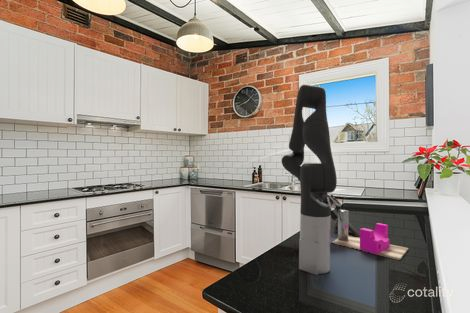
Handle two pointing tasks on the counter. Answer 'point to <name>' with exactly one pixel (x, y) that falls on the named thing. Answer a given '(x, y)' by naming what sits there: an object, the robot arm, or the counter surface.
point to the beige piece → (354, 242)
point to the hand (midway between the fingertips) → (340, 217)
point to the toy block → (374, 239)
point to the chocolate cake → (350, 229)
